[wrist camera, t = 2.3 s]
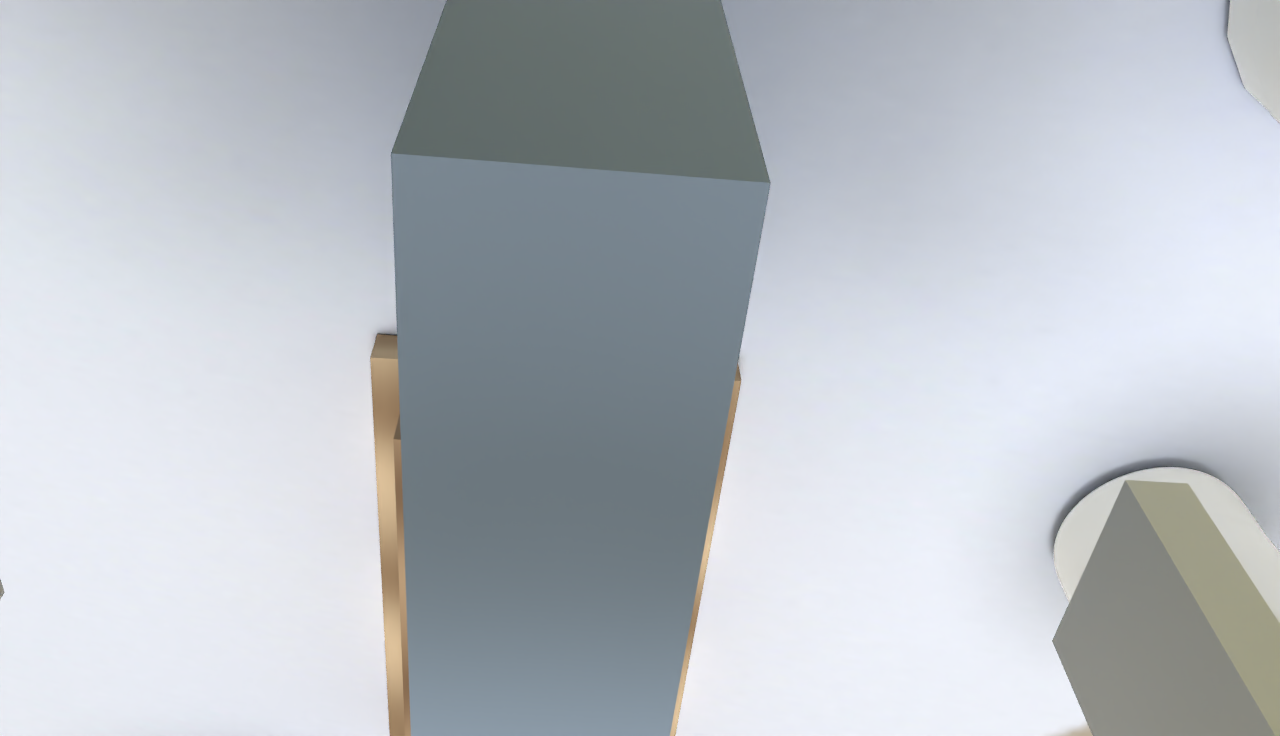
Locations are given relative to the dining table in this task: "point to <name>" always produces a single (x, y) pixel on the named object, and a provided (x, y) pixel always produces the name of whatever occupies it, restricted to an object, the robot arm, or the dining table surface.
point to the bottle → (1257, 49)
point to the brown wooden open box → (393, 530)
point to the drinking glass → (1256, 553)
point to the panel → (566, 353)
